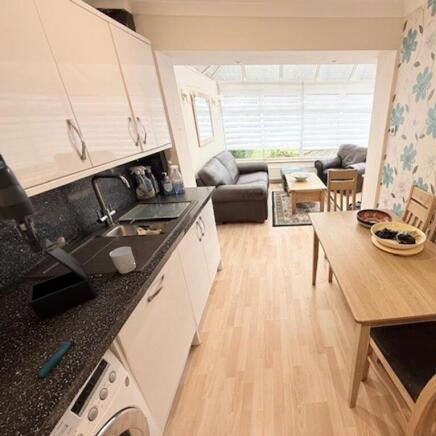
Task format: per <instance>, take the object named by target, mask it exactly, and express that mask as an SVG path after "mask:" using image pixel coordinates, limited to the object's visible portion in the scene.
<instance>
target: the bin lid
mask: <svg viewBox="0 0 436 436" xmlns="http://www.w3.org/2000/svg"><path fill="white" fill-rule="evenodd" d="M64 246H66V239H65V237H63V236H59V237H57V240H56V241H54V242H53V241H51V240H50V239H49V238H47V237H45V238H44V239H43V254H45V255H47V256H48V257H49V258H51V259H52V260H54V261H55V262H57V263H58V264H59V265H61V266H63V267H65V268H66V269H67V270H68V271H69V272H70V271H72V272H73V273H75V274H76V275H78V276H79V277H81V278H82V279H84V280H86V279H87V276H86V273H87V272H86V270H85V265H84V264H83V263H81V262H80V261H78V259H76V258H75V257H73V256H72V255H70V254H69V253H68V252H66V251H65V250H64V249H62V248H61V247H64ZM85 272H86V273H85Z"/></svg>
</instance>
